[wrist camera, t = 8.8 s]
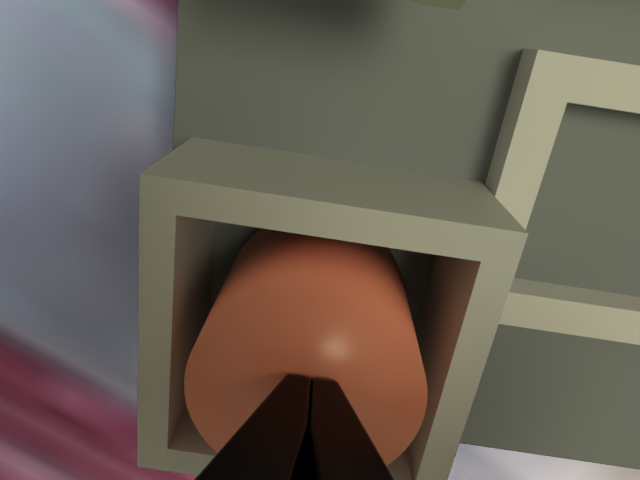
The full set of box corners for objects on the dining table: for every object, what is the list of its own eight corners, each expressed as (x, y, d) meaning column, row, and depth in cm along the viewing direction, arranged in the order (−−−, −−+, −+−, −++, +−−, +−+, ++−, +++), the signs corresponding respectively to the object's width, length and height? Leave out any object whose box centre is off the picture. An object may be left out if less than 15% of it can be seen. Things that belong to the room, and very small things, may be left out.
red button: (385, 378, 12) (399, 502, 9) (222, 355, 12) (179, 470, 9) (421, 228, 11) (454, 312, 8) (235, 199, 11) (189, 272, 7)
